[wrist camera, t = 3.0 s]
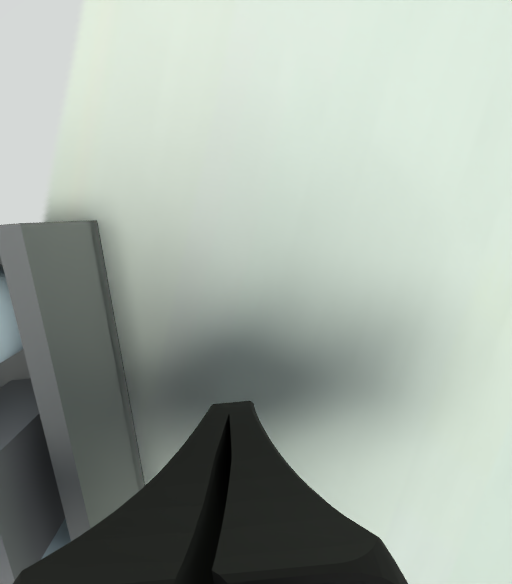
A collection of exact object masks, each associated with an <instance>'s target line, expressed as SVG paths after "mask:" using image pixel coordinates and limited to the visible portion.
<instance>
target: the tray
mask: <svg viewBox="0 0 512 584" xmlns="http://www.w3.org/2000/svg"><path fill="white" fill-rule="evenodd" d="M144 486H145V485H144V480H143V474H142V469H141V463H140V457H139V452H138V446H137V441H136V435H135V430H134V424H133V419H132V413H131V408H130V402H129V397H128V391H127V386H126V380H125V375H124V369H123V364H122V358H121V353H120V347H119V342H118V336H117V330H116V325H115V319H114V314H113V308H112V303H111V297H110V292H109V286H108V281H107V275H106V270H105V264H104V259H103V253H102V248H101V242H100V237H99V231H98V226H97V221H71V222H44V223H19V224H7V225H0V584H13V583H14V581H15V580H16V578H17V577H18V575H19V574H20V572H21V571H22V570H24V569H26V568H28V567H29V566H31V565H33V564H35V563H36V562H38V561H40V560H41V559H43V558H45V557H46V556H48V555H50V554H51V553H53V552H55V551H56V550H58V549H60V548H61V547H63V546H65V545H66V544H68V543H70V542H71V541H73V540H74V539H76V538H77V537H79V536H80V535H82V534H83V533H85V532H86V531H88V530H89V529H91V528H92V527H94V526H95V525H96V524H98V523H99V522H101V521H102V520H103V519H105V518H106V517H107V516H109V515H110V514H112V513H113V512H114V511H116V510H117V509H118V508H119V507H120V506H122V505H123V504H124V503H125V502H126V501H128V500H129V499H130V498H131V497H133V496H134V495H135V494H136V493H137V492H139V491H140V490H141V489H142V488H143V487H144Z"/></svg>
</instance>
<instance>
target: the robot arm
mask: <svg viewBox="0 0 512 584" xmlns="http://www.w3.org/2000/svg"><path fill="white" fill-rule="evenodd" d="M13 584H408V583H407V581H406V579H405V578H404V576H403V574H402V572H401V571H400V569H399V567H398V565H397V564H396V562H395V560H394V559H393V557H392V556H391V554H390V553H389V551H388V549H387V548H386V546H385V545H384V543H383V542H382V540H381V539H380V538H379V537H377V536H376V535H374V534H373V533H371V532H369V531H368V530H366V529H365V528H363V527H361V526H360V525H358V524H357V523H355V522H353V521H352V520H350V519H349V518H347V517H346V516H344V515H343V514H341V513H340V512H339V511H337V510H336V509H335V508H333V507H332V506H331V505H330V504H328V503H327V502H326V501H325V500H324V499H323V498H322V497H320V496H319V495H318V494H317V493H316V492H315V491H314V490H312V489H311V488H310V487H309V486H308V485H307V484H306V483H305V482H304V481H303V480H302V479H301V478H300V477H299V476H298V475H297V474H296V473H295V471H294V470H293V469H292V468H291V467H290V466H289V465H288V463H287V462H286V461H285V460H284V458H283V457H282V456H281V454H280V453H279V452H278V450H277V449H276V448H275V446H274V445H273V443H272V442H271V440H270V439H269V437H268V435H267V434H266V432H265V430H264V429H263V427H262V425H261V423H260V421H259V419H258V417H257V414H256V412H255V408H254V404H253V403H252V402H251V401H244V402H233V403H222V404H213V405H212V406H211V407H210V408H209V410H208V412H207V413H206V415H205V416H204V418H203V419H202V420H201V422H200V423H199V425H198V426H197V428H196V429H195V430H194V432H193V433H192V434H191V436H190V437H189V438H188V440H187V441H186V442H185V444H184V445H183V446H182V447H181V448H180V450H179V451H178V452H177V453H176V454H175V455H174V457H173V458H172V459H171V460H170V461H169V462H168V464H167V465H166V466H165V467H164V468H163V469H162V470H161V471H160V472H159V473H158V474H157V475H156V476H155V477H154V478H153V479H152V480H151V481H150V482H149V483H148V484H147V485H146V486H144V487H143V488H142V489H141V490H140V491H139V492H137V493H136V494H135V495H134V496H133V497H131V498H130V499H129V500H128V501H126V502H125V503H124V504H123V505H122V506H120V507H119V508H118V509H117V510H116V511H114V512H113V513H112V514H110V515H109V516H107V517H106V518H105V519H103V520H102V521H101V522H99V523H98V524H96V525H95V526H94V527H92V528H91V529H89V530H88V531H86V532H85V533H83V534H82V535H80V536H79V537H77V538H76V539H74V540H73V541H71V542H70V543H68V544H66V545H65V546H63V547H61V548H60V549H58V550H56V551H55V552H53V553H51V554H50V555H48V556H46V557H45V558H43V559H41V560H40V561H38V562H36V563H35V564H33V565H31V566H29V567H28V568H26V569H24V570H22V571H21V572H20V574H19V575H18V577H17V578H16V580H15V581H14V583H13Z"/></svg>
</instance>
